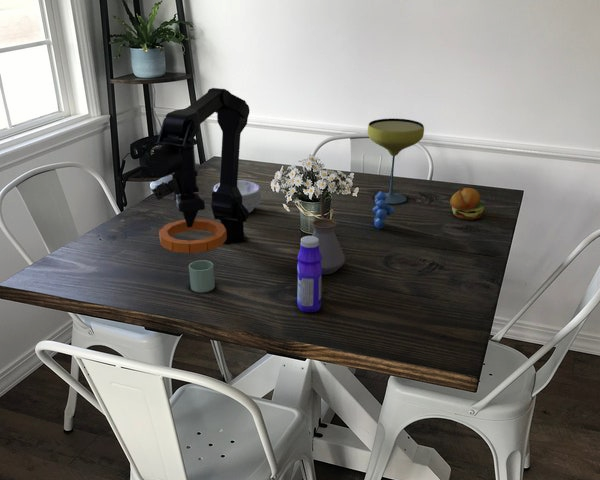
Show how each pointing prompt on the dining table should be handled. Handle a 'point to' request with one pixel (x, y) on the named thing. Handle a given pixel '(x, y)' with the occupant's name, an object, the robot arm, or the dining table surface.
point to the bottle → (309, 275)
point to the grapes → (381, 210)
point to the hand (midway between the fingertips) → (188, 225)
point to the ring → (194, 245)
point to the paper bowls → (247, 193)
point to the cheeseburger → (467, 204)
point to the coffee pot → (328, 242)
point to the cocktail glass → (395, 143)
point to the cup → (201, 276)
